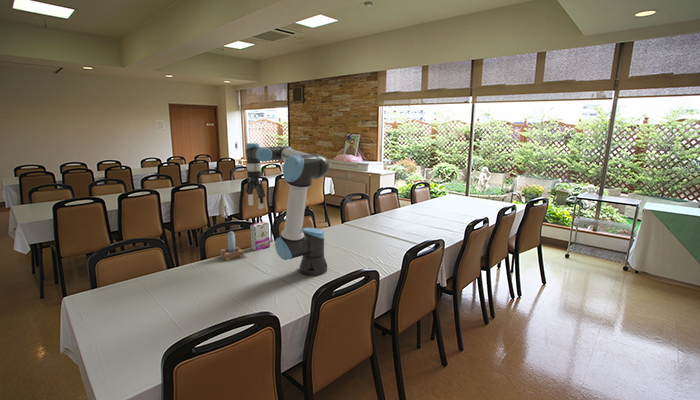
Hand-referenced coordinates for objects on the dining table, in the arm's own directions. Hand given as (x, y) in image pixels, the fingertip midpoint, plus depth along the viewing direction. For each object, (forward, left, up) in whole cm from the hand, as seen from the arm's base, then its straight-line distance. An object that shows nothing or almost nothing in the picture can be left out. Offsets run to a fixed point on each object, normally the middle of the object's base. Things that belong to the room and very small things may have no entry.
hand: (256, 207), depth 201 cm
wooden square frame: (+7, +13, -30) cm, 33 cm away
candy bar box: (+12, -7, -30) cm, 33 cm away
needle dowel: (+7, +13, -30) cm, 33 cm away
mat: (+7, +12, -30) cm, 33 cm away
